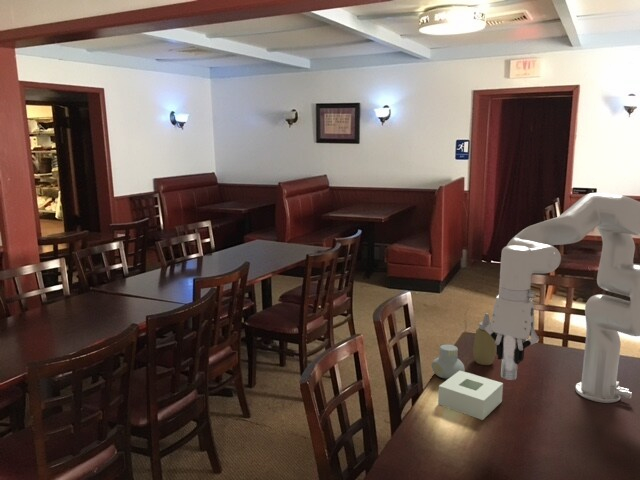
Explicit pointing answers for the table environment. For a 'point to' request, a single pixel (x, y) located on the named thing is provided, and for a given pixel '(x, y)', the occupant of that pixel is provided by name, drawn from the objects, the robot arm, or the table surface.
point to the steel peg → (509, 358)
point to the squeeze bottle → (484, 344)
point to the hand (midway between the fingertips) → (509, 359)
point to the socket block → (470, 394)
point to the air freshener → (447, 362)
